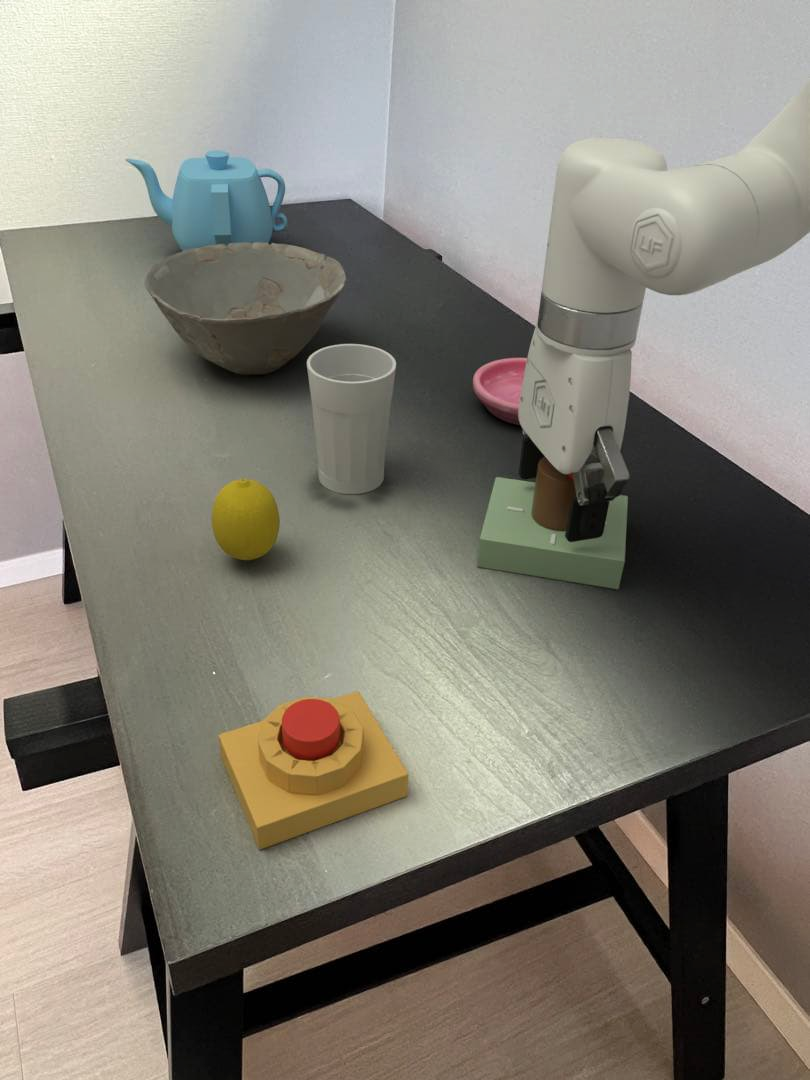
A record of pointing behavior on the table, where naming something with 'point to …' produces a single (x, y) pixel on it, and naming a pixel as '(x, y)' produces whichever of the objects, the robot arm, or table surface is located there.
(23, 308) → the table surface
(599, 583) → the panel
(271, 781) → the button box
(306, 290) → the ceramic bowl
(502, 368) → the saucer
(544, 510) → the knob
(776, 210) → the robot arm
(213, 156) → the teapot
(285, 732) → the button
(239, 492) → the lemon
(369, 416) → the cup
